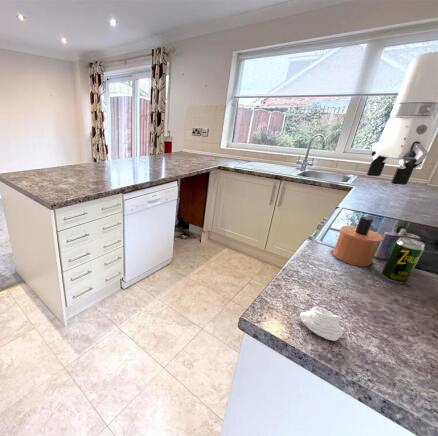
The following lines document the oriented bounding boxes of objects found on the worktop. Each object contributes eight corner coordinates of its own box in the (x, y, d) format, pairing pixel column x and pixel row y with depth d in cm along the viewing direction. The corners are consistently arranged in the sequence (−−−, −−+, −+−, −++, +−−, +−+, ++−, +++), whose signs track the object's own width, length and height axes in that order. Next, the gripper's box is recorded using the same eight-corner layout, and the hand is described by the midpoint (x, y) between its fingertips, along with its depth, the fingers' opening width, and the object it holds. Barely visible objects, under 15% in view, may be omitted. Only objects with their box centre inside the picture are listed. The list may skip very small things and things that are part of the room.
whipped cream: (295, 328, 54) (298, 312, 52) (302, 310, 58) (306, 294, 56) (340, 348, 49) (346, 330, 47) (344, 326, 53) (350, 309, 51)
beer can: (377, 271, 73) (393, 235, 69) (399, 275, 72) (417, 238, 67) (387, 282, 69) (405, 244, 64) (410, 286, 67) (431, 248, 63)
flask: (376, 258, 80) (389, 229, 76) (371, 254, 83) (384, 225, 78) (410, 263, 78) (426, 233, 74) (404, 259, 80) (419, 229, 76)
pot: (360, 252, 84) (369, 229, 81) (377, 268, 75) (389, 243, 72) (328, 248, 86) (335, 226, 83) (341, 263, 77) (350, 239, 74)
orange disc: (369, 231, 81) (376, 213, 79) (390, 246, 72) (399, 227, 69) (333, 227, 83) (339, 210, 81) (349, 241, 74) (356, 223, 71)
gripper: (465, 111, 52) (428, 189, 59) (402, 112, 68) (378, 173, 75) (425, 110, 53) (392, 187, 60) (372, 112, 69) (351, 172, 76)
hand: (385, 179), depth 67 cm, fingers open, 9 cm apart
